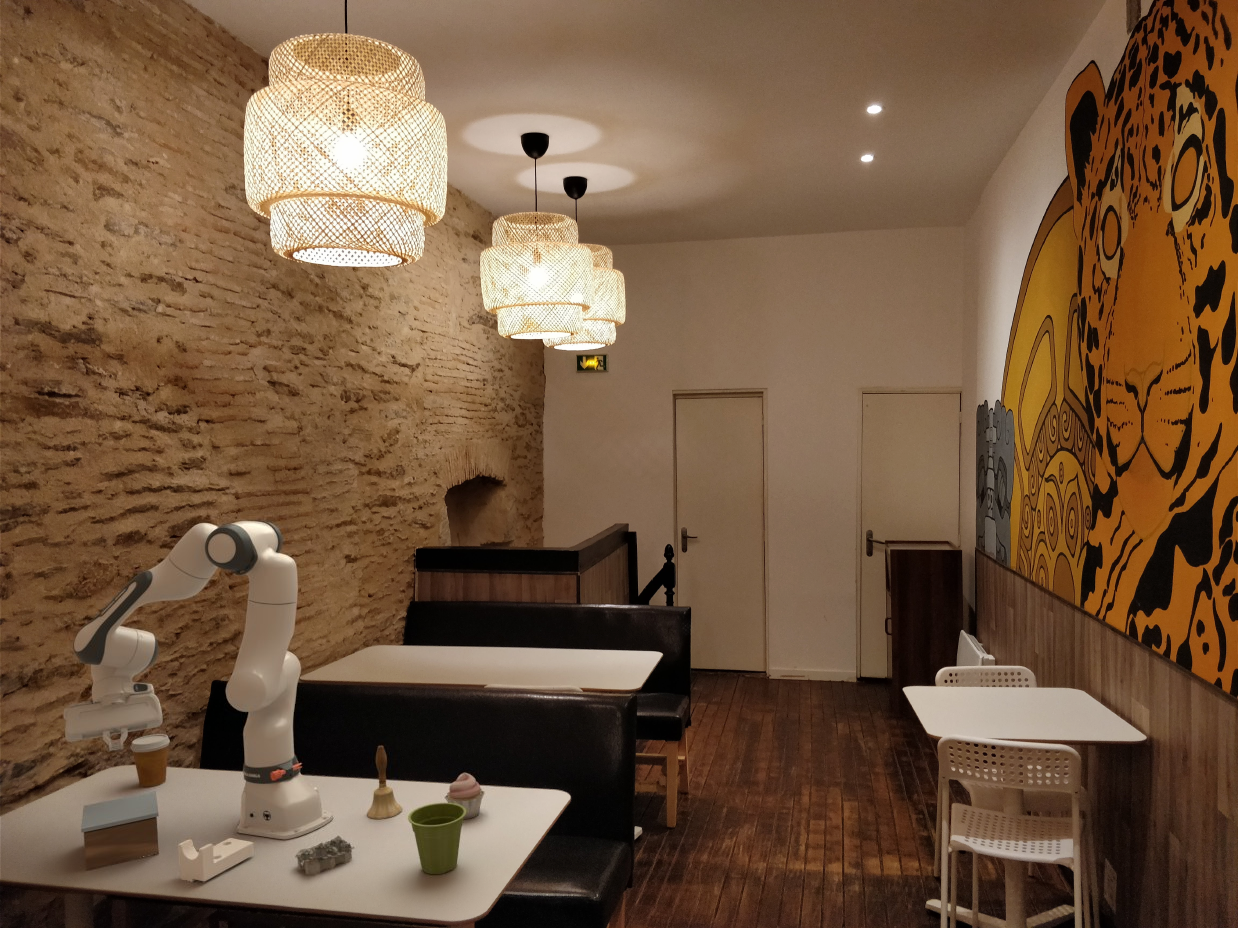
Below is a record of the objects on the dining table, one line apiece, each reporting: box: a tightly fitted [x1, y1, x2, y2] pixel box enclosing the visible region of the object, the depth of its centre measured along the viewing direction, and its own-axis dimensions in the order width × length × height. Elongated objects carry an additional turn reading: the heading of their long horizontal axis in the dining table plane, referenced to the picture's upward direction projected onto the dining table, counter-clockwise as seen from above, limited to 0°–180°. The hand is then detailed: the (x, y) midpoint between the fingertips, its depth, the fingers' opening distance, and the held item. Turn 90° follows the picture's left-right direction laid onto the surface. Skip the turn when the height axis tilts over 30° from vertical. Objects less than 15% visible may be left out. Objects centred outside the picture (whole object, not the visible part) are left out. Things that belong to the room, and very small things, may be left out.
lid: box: [80, 791, 160, 834], centre depth 207 cm, size 17×15×1 cm
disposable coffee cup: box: [130, 733, 171, 788], centre depth 249 cm, size 10×10×12 cm
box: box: [83, 817, 160, 871], centre depth 207 cm, size 16×14×8 cm
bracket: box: [177, 837, 255, 883], centre depth 195 cm, size 13×7×8 cm, turn 155°
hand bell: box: [366, 745, 403, 820], centre depth 221 cm, size 8×8×16 cm
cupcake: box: [444, 772, 486, 820], centre depth 217 cm, size 9×9×10 cm
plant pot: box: [407, 802, 466, 875], centre depth 190 cm, size 12×12×11 cm
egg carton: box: [294, 835, 355, 876], centre depth 195 cm, size 11×8×4 cm
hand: (116, 748), depth 214 cm, fingers closed
